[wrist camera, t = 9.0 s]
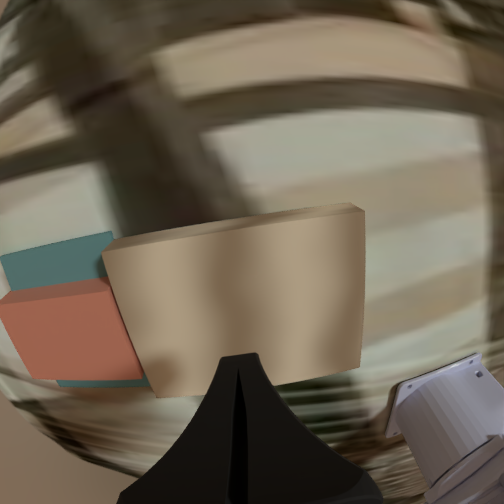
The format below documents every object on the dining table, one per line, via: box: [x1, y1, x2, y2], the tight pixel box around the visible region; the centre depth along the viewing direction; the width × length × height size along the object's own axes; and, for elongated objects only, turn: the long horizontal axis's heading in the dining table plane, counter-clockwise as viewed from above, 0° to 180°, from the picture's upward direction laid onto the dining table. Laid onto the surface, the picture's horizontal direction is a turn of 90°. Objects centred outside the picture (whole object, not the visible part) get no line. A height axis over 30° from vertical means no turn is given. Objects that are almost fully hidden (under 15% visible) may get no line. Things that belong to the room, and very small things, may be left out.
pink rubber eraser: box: [0, 277, 144, 380], centre depth 16 cm, size 9×6×2 cm, turn 98°
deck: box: [101, 203, 365, 398], centre depth 17 cm, size 13×10×2 cm
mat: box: [0, 231, 151, 387], centre depth 17 cm, size 9×11×1 cm
